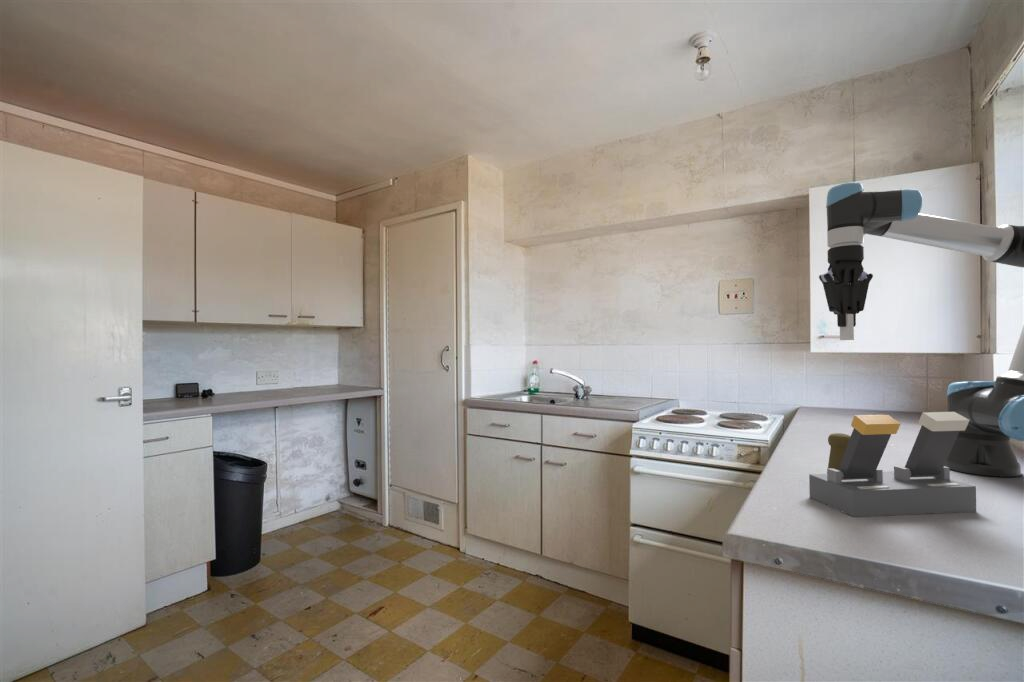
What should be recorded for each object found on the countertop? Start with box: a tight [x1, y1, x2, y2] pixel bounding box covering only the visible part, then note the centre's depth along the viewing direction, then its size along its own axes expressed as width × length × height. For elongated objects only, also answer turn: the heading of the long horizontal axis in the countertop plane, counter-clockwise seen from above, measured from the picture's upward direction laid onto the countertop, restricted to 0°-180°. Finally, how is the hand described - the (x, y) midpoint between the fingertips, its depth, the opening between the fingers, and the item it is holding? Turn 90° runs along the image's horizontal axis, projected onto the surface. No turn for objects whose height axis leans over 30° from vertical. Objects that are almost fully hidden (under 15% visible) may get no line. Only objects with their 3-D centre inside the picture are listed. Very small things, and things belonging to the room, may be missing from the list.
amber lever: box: [838, 413, 901, 480], centre depth 96 cm, size 3×7×15 cm, turn 95°
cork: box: [827, 432, 851, 470], centre depth 119 cm, size 6×6×11 cm
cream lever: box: [904, 411, 970, 478], centre depth 97 cm, size 3×7×15 cm, turn 95°
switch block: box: [808, 465, 977, 517], centre depth 99 cm, size 26×12×8 cm, turn 95°
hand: (846, 339), depth 120 cm, fingers closed
